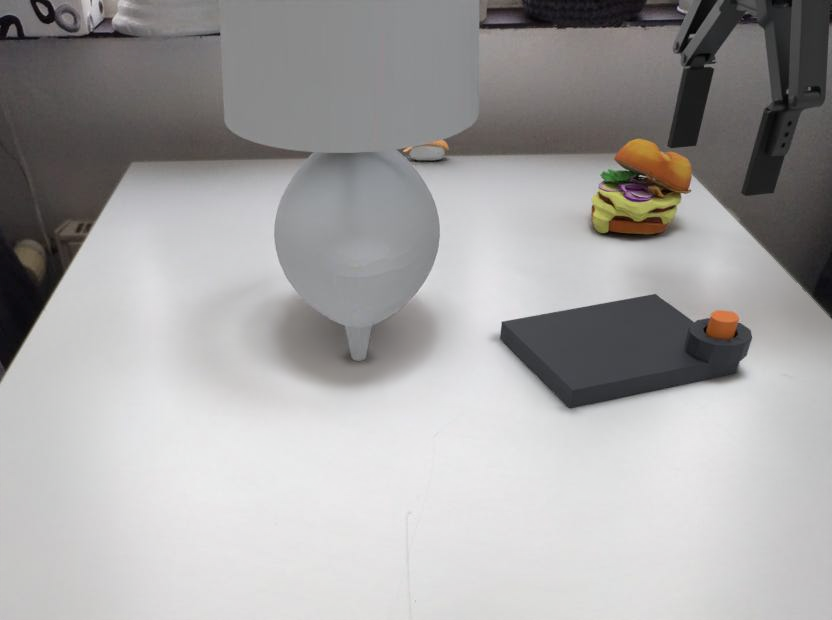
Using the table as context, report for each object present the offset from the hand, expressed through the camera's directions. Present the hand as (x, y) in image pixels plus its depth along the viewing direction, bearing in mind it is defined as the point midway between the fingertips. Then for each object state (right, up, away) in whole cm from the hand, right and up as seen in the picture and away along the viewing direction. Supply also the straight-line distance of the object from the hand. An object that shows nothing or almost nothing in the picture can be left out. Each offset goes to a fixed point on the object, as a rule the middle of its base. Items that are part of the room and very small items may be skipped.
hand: (717, 168), depth 82 cm
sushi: (-23, +24, +43) cm, 55 cm away
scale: (-9, -17, +2) cm, 19 cm away
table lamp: (-33, -13, +7) cm, 36 cm away
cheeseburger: (0, +6, +25) cm, 26 cm away
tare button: (-1, -16, -3) cm, 16 cm away
